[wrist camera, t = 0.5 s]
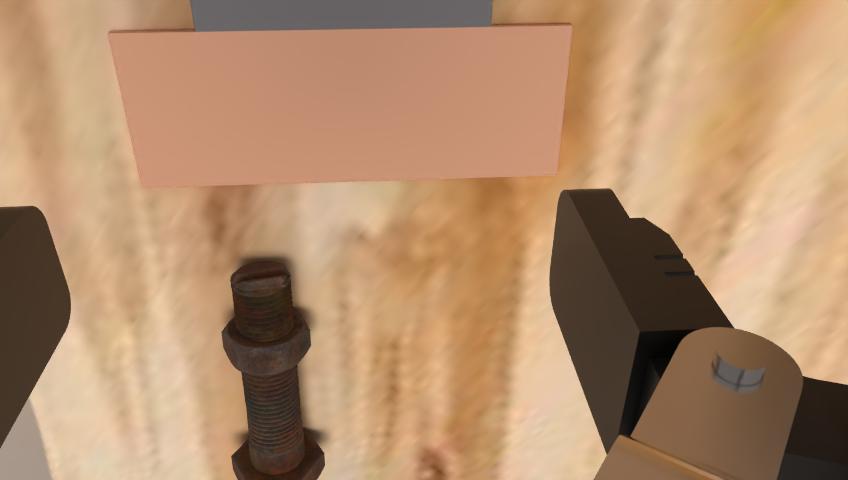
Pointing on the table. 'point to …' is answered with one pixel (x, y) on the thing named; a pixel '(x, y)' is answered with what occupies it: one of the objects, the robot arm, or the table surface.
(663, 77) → the table surface
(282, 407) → the bolt
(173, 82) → the t mat
